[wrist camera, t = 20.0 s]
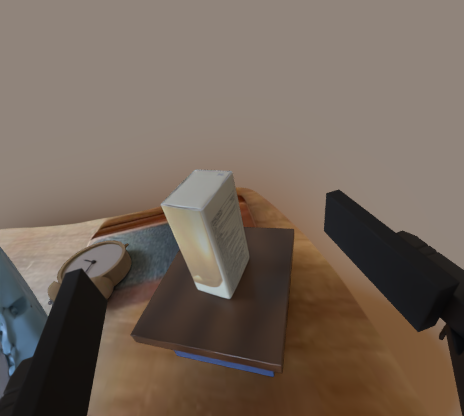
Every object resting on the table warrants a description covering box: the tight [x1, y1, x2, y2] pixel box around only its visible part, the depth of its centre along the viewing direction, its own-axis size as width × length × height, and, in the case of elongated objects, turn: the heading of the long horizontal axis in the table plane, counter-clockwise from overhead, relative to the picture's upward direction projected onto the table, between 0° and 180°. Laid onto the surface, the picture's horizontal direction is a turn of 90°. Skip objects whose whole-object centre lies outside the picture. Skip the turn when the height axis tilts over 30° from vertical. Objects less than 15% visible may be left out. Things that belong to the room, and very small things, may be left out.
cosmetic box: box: [161, 170, 250, 299], centre depth 25 cm, size 6×4×12 cm
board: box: [131, 227, 294, 373], centre depth 29 cm, size 15×17×2 cm
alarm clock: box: [48, 241, 132, 306], centre depth 42 cm, size 11×5×15 cm
